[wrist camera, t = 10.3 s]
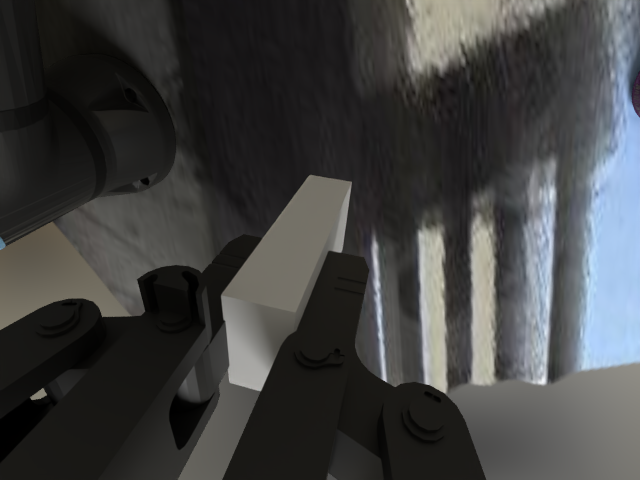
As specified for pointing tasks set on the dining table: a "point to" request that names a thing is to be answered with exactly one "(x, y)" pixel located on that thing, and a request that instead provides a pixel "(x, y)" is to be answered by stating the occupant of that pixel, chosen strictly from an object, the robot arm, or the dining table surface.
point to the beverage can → (636, 95)
